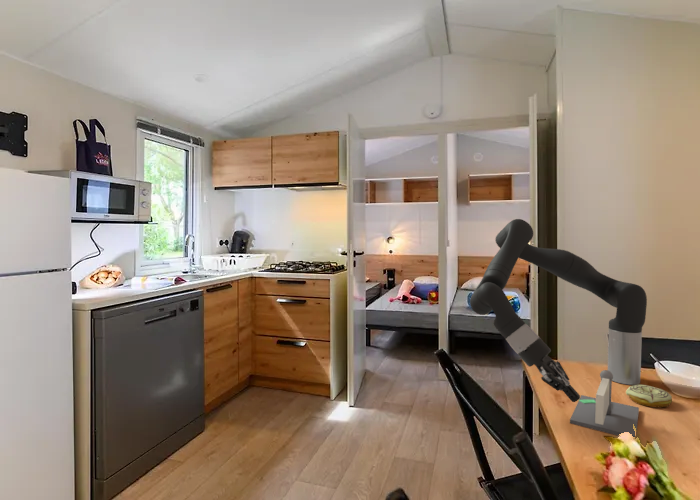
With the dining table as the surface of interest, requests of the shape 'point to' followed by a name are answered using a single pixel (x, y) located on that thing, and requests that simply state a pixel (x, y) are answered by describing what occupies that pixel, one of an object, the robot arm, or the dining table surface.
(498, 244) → the robot arm
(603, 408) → the grey upright panel
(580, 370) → the dining table surface
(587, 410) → the dial plate
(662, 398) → the decorated donut
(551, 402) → the dining table surface
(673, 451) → the dining table surface
